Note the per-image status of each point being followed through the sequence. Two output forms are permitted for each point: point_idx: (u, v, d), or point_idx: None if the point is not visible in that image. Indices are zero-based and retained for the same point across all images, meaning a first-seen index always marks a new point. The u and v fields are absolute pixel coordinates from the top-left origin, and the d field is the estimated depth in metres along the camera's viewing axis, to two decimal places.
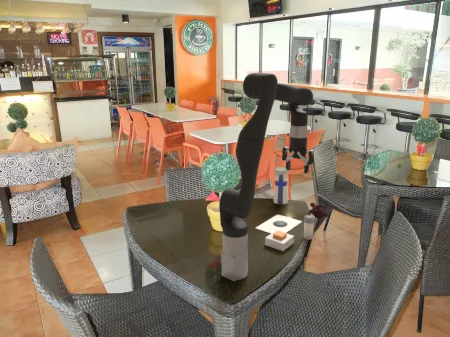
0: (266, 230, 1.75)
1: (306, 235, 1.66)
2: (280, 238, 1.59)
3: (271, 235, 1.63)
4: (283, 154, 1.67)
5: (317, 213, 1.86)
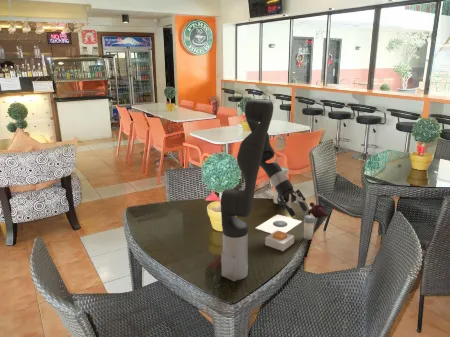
0: (266, 230, 1.75)
1: (306, 235, 1.66)
2: (280, 238, 1.59)
3: (271, 235, 1.63)
4: (283, 202, 1.66)
5: (316, 213, 1.86)
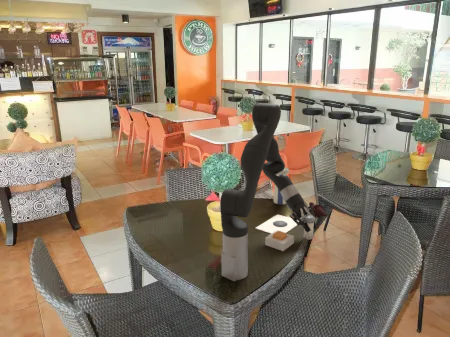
0: (266, 230, 1.75)
1: (306, 235, 1.66)
2: (280, 238, 1.59)
3: (271, 235, 1.63)
4: (298, 218, 1.64)
5: (315, 213, 1.86)
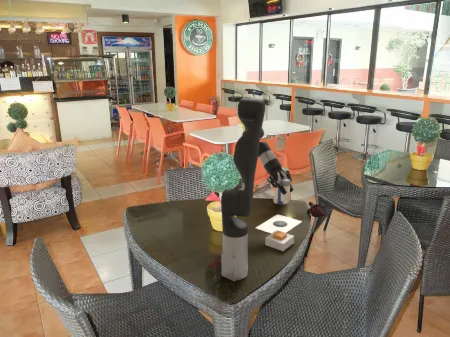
0: (266, 230, 1.75)
1: (283, 197, 1.74)
2: (280, 238, 1.59)
3: (271, 235, 1.63)
4: (274, 181, 1.72)
5: (314, 212, 1.87)
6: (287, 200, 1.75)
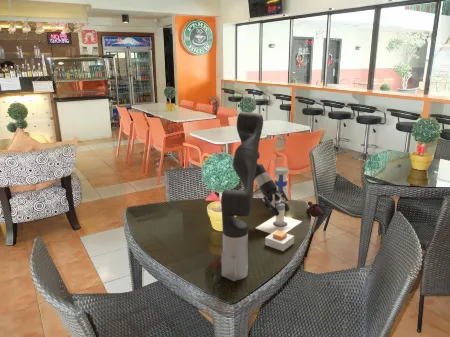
0: (266, 230, 1.75)
1: (277, 221, 1.79)
2: (280, 238, 1.59)
3: (271, 235, 1.63)
4: (268, 202, 1.76)
5: (313, 212, 1.87)
6: (282, 223, 1.80)
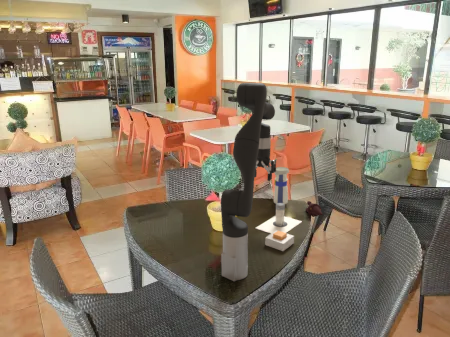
0: (266, 230, 1.75)
1: (277, 221, 1.79)
2: (280, 238, 1.59)
3: (271, 235, 1.63)
4: None
5: (312, 211, 1.88)
6: (282, 224, 1.80)
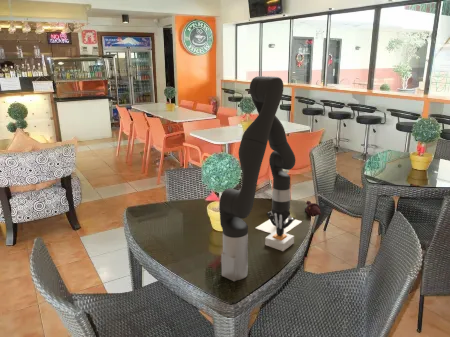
0: (266, 230, 1.75)
1: None
2: None
3: (271, 235, 1.63)
4: (271, 219, 1.61)
5: (311, 211, 1.88)
6: None
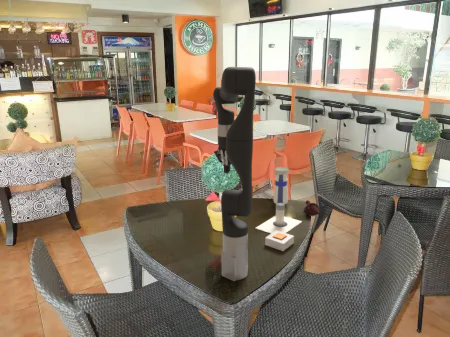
0: (266, 230, 1.75)
1: (277, 221, 1.79)
2: None
3: (271, 235, 1.63)
4: (218, 157, 1.66)
5: (309, 211, 1.89)
6: (282, 224, 1.80)
